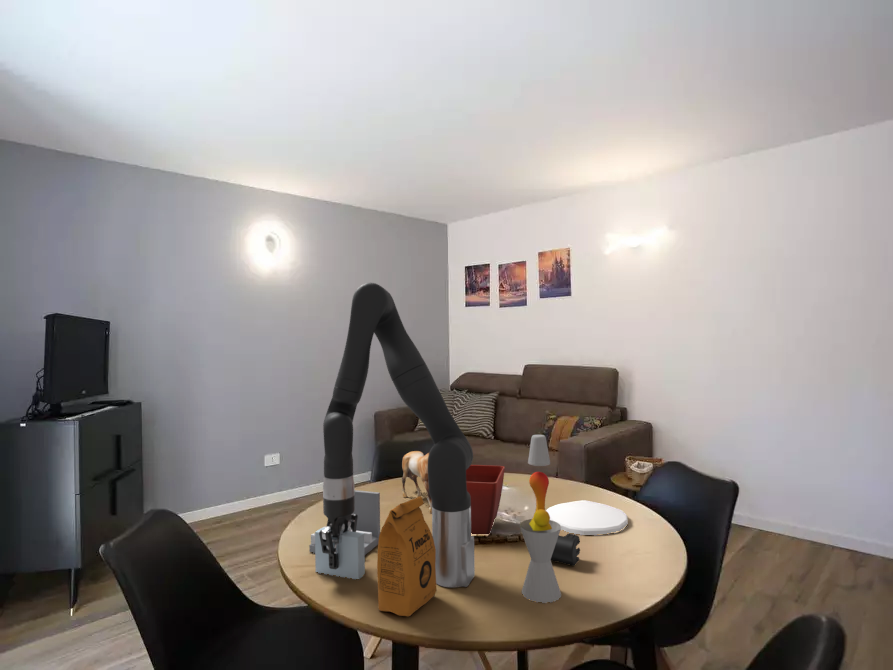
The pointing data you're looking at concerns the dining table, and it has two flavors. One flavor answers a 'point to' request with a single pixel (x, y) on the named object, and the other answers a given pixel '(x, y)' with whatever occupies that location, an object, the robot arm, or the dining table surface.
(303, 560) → the dining table surface
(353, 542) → the door panel
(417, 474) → the horse figurine
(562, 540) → the end cap
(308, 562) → the dining table surface
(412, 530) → the coffee package
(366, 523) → the grey slotted stand
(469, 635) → the dining table surface
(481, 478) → the plant pot
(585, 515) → the decorative plate
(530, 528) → the lava lamp
